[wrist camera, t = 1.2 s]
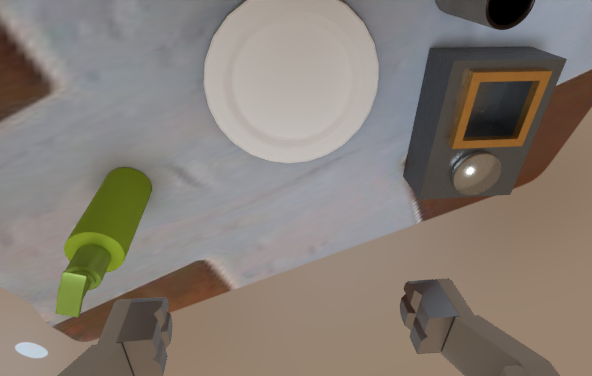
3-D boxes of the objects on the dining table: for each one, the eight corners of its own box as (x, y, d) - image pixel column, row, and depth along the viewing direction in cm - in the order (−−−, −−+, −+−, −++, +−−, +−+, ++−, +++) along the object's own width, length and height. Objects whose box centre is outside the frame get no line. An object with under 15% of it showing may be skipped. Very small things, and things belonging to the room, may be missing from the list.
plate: (190, 137, 46) (189, 143, 45) (225, -46, 36) (224, -46, 34) (338, 172, 52) (340, 178, 50) (405, 22, 41) (411, 24, 40)
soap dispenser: (157, 168, 48) (109, 285, 31) (146, 208, 51) (98, 332, 34) (110, 155, 46) (33, 270, 29) (102, 196, 49) (28, 322, 33)
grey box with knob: (430, 47, 43) (458, 63, 37) (530, 46, 44) (573, 61, 38) (403, 176, 53) (422, 204, 47) (486, 172, 54) (514, 198, 48)
